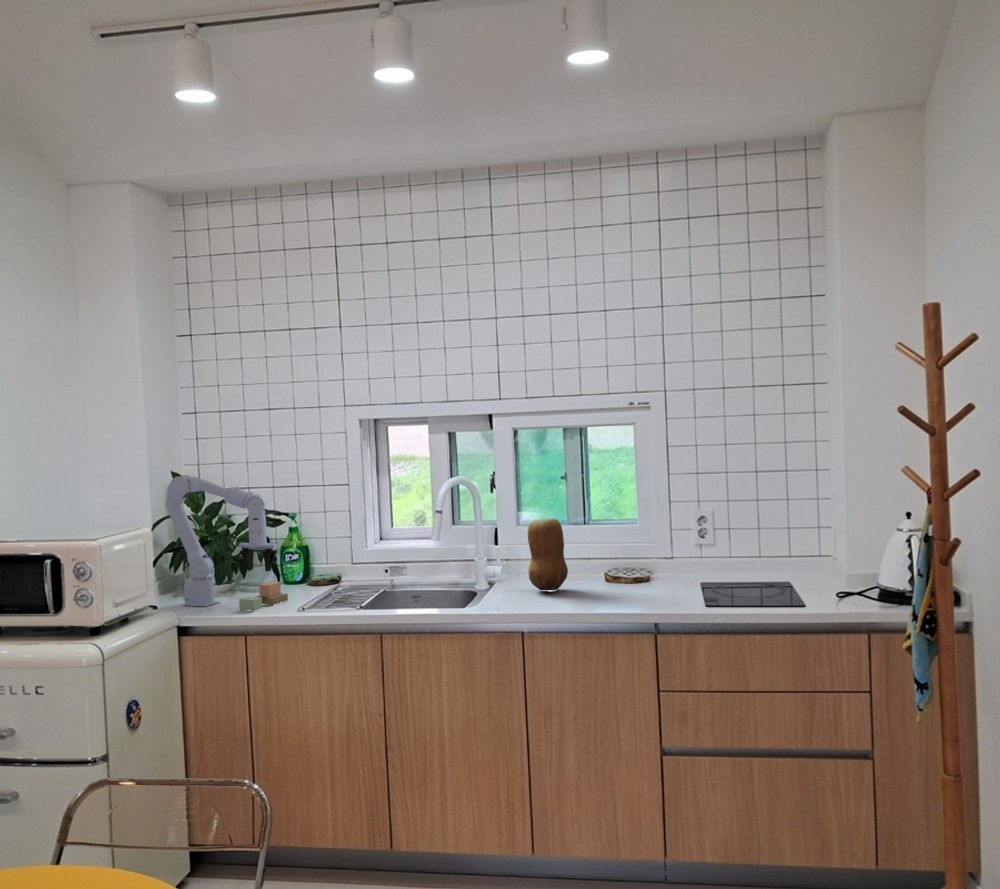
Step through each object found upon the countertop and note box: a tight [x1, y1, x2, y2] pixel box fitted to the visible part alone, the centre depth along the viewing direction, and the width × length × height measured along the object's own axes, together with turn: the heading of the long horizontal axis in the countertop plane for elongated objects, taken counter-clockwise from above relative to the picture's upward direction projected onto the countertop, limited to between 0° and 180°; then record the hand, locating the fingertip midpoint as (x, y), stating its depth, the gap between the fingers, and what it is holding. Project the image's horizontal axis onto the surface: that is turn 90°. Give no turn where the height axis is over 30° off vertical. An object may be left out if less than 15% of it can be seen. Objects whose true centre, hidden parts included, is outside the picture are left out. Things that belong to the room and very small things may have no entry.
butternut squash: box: [527, 518, 569, 591], centre depth 322 cm, size 14×13×25 cm
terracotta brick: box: [258, 581, 282, 597], centre depth 321 cm, size 6×4×4 cm, turn 155°
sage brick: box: [238, 596, 263, 611], centre depth 310 cm, size 6×4×4 cm, turn 64°
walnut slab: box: [255, 593, 289, 605], centre depth 321 cm, size 8×8×3 cm
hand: (259, 570), depth 324 cm, fingers open, 7 cm apart
